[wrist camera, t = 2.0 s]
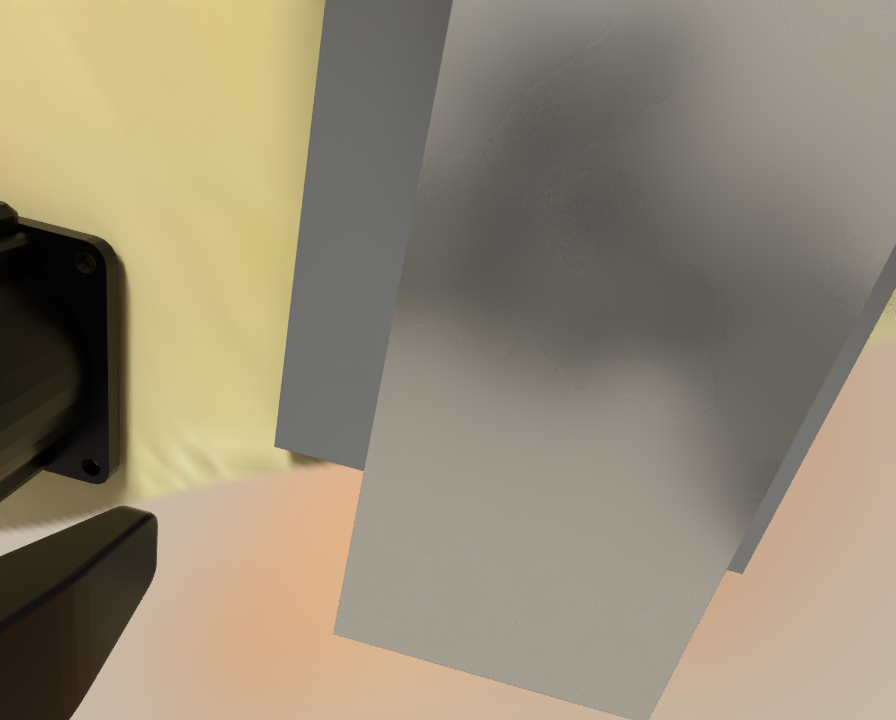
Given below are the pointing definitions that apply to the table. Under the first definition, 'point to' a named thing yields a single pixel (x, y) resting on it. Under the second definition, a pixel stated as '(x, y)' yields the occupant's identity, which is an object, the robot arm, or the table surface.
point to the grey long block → (613, 324)
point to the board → (386, 234)
